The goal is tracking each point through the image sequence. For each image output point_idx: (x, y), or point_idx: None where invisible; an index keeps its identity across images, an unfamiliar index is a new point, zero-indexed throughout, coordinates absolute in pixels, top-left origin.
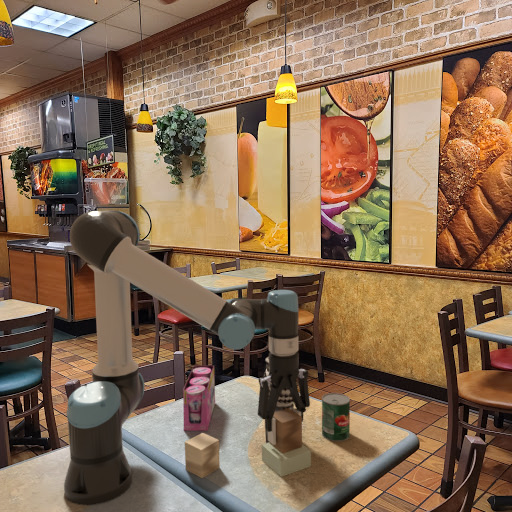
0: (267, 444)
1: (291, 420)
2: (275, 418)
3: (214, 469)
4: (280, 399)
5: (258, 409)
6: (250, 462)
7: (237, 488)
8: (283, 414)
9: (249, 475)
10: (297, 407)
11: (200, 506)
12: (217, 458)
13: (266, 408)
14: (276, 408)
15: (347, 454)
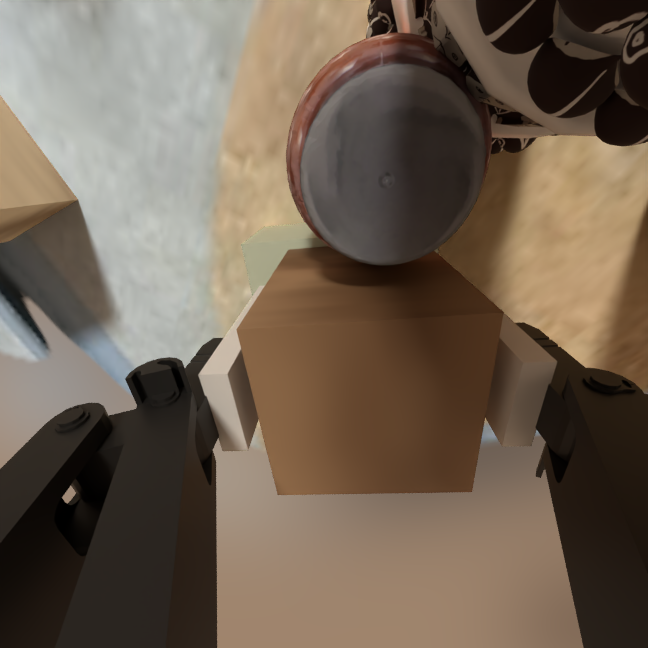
0: (272, 257)
1: (367, 488)
2: (261, 423)
3: (42, 215)
4: (595, 68)
5: (5, 479)
6: (216, 205)
7: (137, 332)
8: (363, 402)
9: (190, 287)
10: (561, 418)
11: (22, 356)
12: (17, 212)
13: (72, 594)
14: (426, 145)
15: (596, 334)
